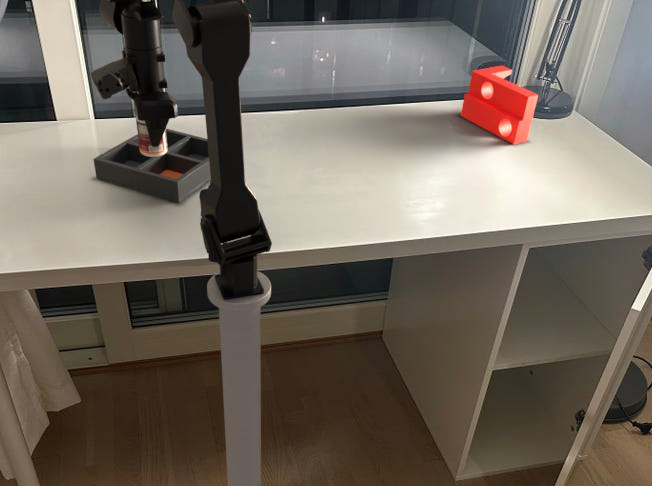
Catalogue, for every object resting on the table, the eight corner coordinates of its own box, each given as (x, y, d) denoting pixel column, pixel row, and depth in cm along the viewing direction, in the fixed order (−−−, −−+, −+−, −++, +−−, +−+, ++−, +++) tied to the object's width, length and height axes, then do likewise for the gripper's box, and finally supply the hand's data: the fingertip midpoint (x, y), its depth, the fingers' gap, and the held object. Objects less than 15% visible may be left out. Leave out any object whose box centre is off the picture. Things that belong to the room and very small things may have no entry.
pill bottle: (147, 143, 124) (142, 96, 118) (172, 148, 123) (168, 100, 117) (134, 154, 120) (128, 105, 115) (159, 159, 119) (155, 110, 114)
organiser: (232, 164, 142) (232, 145, 140) (179, 203, 129) (177, 182, 127) (155, 144, 148) (153, 125, 146) (96, 179, 135) (93, 158, 133)
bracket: (469, 71, 160) (502, 65, 164) (460, 115, 167) (492, 109, 171) (525, 97, 149) (559, 90, 153) (513, 144, 155) (546, 136, 159)
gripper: (83, 29, 115) (98, 123, 125) (97, 68, 101) (112, 169, 112) (152, 26, 118) (160, 117, 128) (174, 63, 104) (181, 161, 115)
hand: (152, 140), depth 120 cm, fingers closed on pill bottle, 5 cm apart
